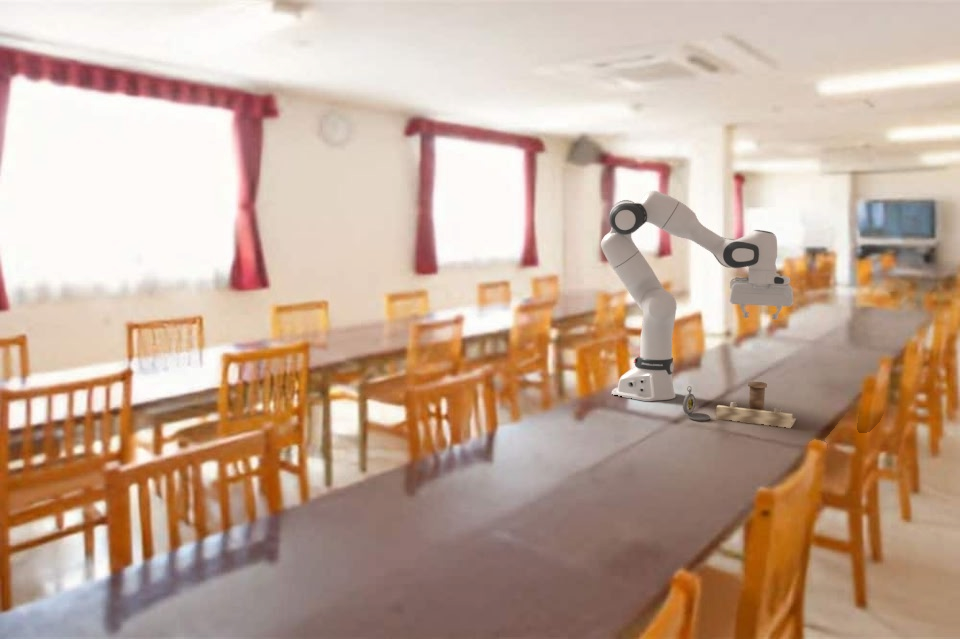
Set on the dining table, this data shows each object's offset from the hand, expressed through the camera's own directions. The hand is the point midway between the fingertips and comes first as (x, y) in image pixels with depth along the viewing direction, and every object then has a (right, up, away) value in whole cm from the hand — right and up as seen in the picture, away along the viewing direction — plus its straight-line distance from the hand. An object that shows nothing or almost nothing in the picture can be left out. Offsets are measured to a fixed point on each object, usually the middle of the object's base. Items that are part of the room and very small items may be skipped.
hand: (760, 318), depth 242 cm
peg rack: (-9, -32, -19) cm, 39 cm away
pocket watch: (-27, -32, -17) cm, 45 cm away
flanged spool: (-9, -31, -19) cm, 37 cm away
